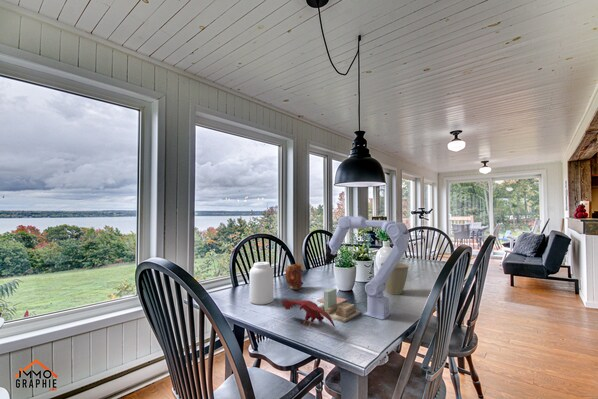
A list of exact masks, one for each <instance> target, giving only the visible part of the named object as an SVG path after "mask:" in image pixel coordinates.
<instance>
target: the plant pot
mask: <svg viewBox="0 0 598 399" xmlns="http://www.w3.org/2000/svg"><path fill="white" fill-rule="evenodd" d="M383 263H384V262H382V263H380V267H381V266H382V265H383ZM408 273H409V265H408V264H406V263H402V262H401V263H400V262H398V263H397V265H396V266H395V268H394V269H393V271H392V273H391V274H390V276H389V277H388V279H387V282H386V285H385V289H386V290H387V293H389V294H390V295H393V296H394V295H395V296H397V295H401V294H402V293H403V291H404V287H405V284H406V282H407V277H408Z"/></svg>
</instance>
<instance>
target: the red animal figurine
mask: <svg viewBox="0 0 598 399" xmlns="http://www.w3.org/2000/svg"><path fill="white" fill-rule="evenodd" d="M282 305H283V308H284V309H285V310H291V308H294V307H296V305H297V306H299V310H300V311H301V310H303V311H304V312H305V317H304V318H305V319H304V322H302V323H301V324H303V325H305V323H306V321H308V320H310V322H309V324H308V325H306V326H308V327H310V325H311V324H312V323H314V321H315V320H318V321H320V322H323V320H324V319H325V318H326V319H327V320H328V321H329V322H330V324H331V325H332V326H333V327H334V328H336V326H335V324H334V323H335V322H334V321H333V319H331V317H330V316H329V314H328V313H326V312H325V311H324V310H322V309H321V308H319V306H318V304H316V303H315V302H314V301H311V300H306V299H305V300H293V299H289V300H288V299H286V300H283V301H282ZM320 313H321V314H322V315H324V316H325V317H324V316H322V315H321V314H320Z"/></svg>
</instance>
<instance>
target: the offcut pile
mask: <svg viewBox="0 0 598 399" xmlns="http://www.w3.org/2000/svg"><path fill="white" fill-rule="evenodd" d="M356 310H357V308H356V307H355V304H353V303H349V302H343V303H342V305H340V306H338V307H337V311H336V315H337V316H341V317H344V318H346V317H348V316H350V315H351V314H353V313H355V312H356Z"/></svg>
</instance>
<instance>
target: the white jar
mask: <svg viewBox="0 0 598 399" xmlns="http://www.w3.org/2000/svg"><path fill="white" fill-rule="evenodd" d="M274 273H275V272H274V269H273V267H271V264H270V262H268V261H257V262H254V263H253V266H252V267H251V268H250V269H249V301H250V303H251V304H253V305H269V304H271V303H272V302H273V301H274V300H275V299H274V298H275V297H274V295H275V293H274V290H275V289H274V286H275V284H274V282H275V280H274V279H275V278H274V277H275V274H274Z"/></svg>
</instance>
